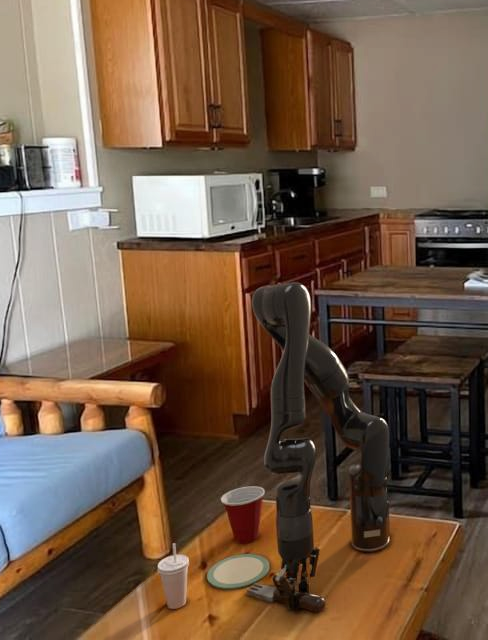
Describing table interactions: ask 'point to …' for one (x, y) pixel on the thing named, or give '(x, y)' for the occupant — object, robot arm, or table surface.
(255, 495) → the plastic cup
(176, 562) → the smoothie
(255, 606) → the table surface
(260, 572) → the plate
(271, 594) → the brown-handled spatula
